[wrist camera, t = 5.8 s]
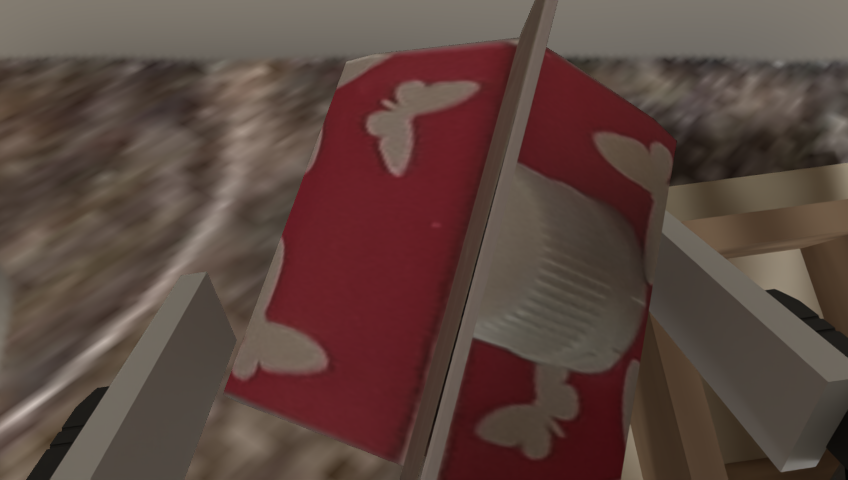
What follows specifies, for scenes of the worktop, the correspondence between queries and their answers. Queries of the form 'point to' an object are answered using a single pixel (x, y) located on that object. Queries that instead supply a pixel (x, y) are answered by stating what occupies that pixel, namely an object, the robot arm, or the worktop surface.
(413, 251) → the juice carton
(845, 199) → the birch collar board
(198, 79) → the worktop surface
